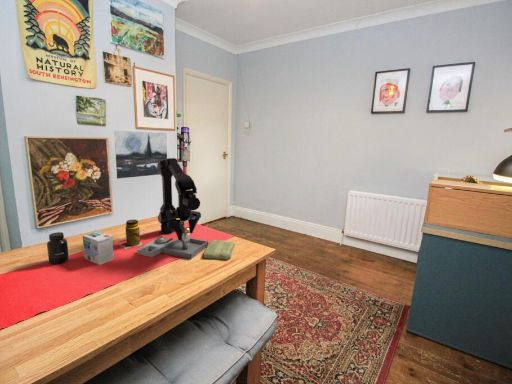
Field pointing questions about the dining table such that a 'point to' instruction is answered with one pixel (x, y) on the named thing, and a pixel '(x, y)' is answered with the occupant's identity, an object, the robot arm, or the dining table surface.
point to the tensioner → (154, 246)
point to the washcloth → (219, 249)
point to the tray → (177, 250)
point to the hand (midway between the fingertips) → (185, 236)
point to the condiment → (132, 235)
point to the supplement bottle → (57, 248)
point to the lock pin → (186, 238)
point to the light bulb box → (98, 247)
